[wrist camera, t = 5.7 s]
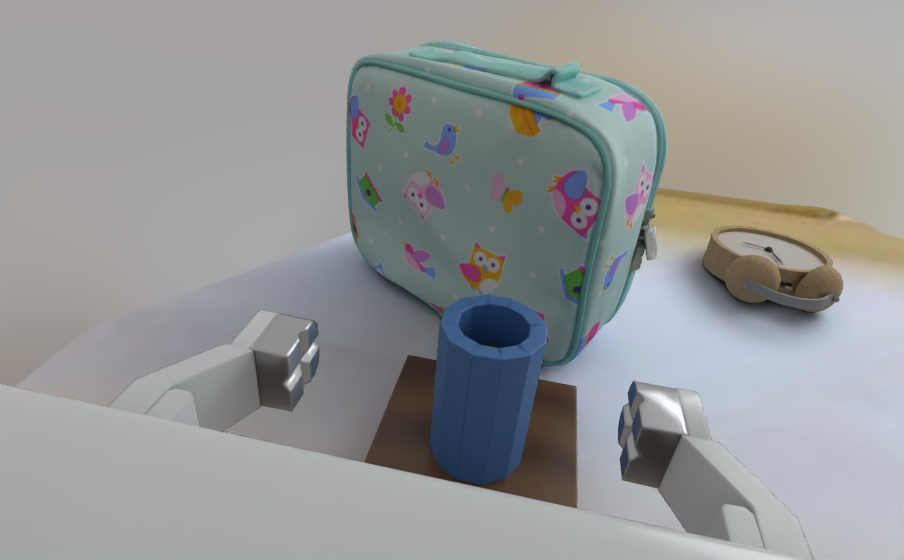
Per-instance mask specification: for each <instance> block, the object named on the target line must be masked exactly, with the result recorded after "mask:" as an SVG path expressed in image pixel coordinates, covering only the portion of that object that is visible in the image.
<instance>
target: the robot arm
mask: <svg viewBox="0 0 904 560" xmlns="http://www.w3.org/2000/svg"><path fill="white" fill-rule="evenodd" d="M317 335H318V324H317V323H316V322H315V321H313V320H309V319H304V318H299V317H294V316H290V315H285V314H279V313H274V312H270V311H265V310H261V311H259V312H257V313H256V314H255V315H254V317H253V318H252V319H251V320H250V321H249V322H248V323H247V325H246V326H245V327H244V328H243V329H242V330H241V331H240V333H239V334H238V335H237V336H236V337H235V338H234V339H233V341H232V342H231V343H230V344H229V345H224V344H223V345H220V346H218V347H215V348H212V349H210V350H207V351H205V352H202V353H200V354H197V355H195V356H192V357H190V358H187V359H185V360H182V361H179V362H177V363H174V364H172V365H169V366H167V367H164V368H162V369H159V370H157V371H154V372H152V373H149V374H146V375H144V376H141V377H139V378H136V379H135V380H134V381H133V382H132V383H131V384H130V385H129V386H128V387H127V388H126V389H125V390H124V391H123V392H122V393H121V394H120V395H119V396H117V397H116V398H115V399H114V400H113V401H112V402H111V403H110V404H109V405H108V406H107V407H106V406H101V405H96V404H92V403H87V402H83V401H78V400H73V399H69V398H64V397H60V396H55V395H50V394H46V393H41V392H36V391H32V390H27V389H23V388H18V387H13V386H9V385H4V384H0V560H814V557H813V555H812V552H811V550H810V547H809V544H808V542H807V539H806V537H805V534H804V532H803V529H802V527H801V524H800V522H799V519H798V517H797V516H796V515H795V514H794V513H793V512H791V511H790V510H789V509H788V508H787V507H786V506H785V505H784V504H783V503H782V502H781V501H780V500H779V499H778V498H777V497H776V496H775V495H774V494H773V493H772V492H771V491H769V490H768V489H767V488H766V487H765V486H764V485H763V484H762V483H761V482H760V481H759V480H758V479H757V478H756V477H755V476H754V475H753V474H752V473H751V472H750V471H749V470H747V469H746V468H745V467H744V466H743V465H742V464H741V463H740V462H739V461H738V460H737V459H736V458H735V457H734V456H733V455H732V454H731V453H730V452H729V451H728V450H727V449H725V448H724V447H723V446H722V445H721V444H720V443H719V442H716V441H713V440H712V437H711V434H710V430H709V427H708V423H707V420H706V417H705V413H704V410H703V406H702V403H701V399H700V396H699V394H698V393H697V392H696V391H690V390H684V389H678V388H675V389H674V388H669V387H663V386H658V385H652V384H647V383H642V382H636V381H633V382H632V384H631V386H630V388H629V391H628V399H629V403H628V404H626V405H625V406H623V409H622V412H621V415H620V420H619V426H618V442H619V445H620V446H621V447H622V448H623V451H622V454H621V457H620V464H621V473H622V480H624V481H628V482H632V483H636V484H641V485H645V486H649V487H653V488H658V491H659V493H660V494H661V495H662V497H663V498H664V500H665V501H666V503H667V504H668V506H669V507H670V508H671V510H672V511H673V513H674V514H675V516H676V517H677V519H678V520H679V522H680V523H681V524H682V526H683V527H684V529H685V530H686V532H683V531H679V530H674V529H669V528H665V527H660V526H656V525H651V524H646V523H642V522H637V521H632V520H627V519H623V518H618V517H613V516H609V515H604V514H599V513H595V512H590V511H586V510H581V509H576V508H572V507H567V506H563V505H558V504H553V503H549V502H544V501H540V500H535V499H530V498H526V497H521V496H517V495H512V494H508V493H503V492H498V491H494V490H489V489H485V488H480V487H475V486H471V485H466V484H461V483H457V482H452V481H447V480H443V479H438V478H433V477H429V476H424V475H419V474H415V473H410V472H405V471H401V470H396V469H392V468H387V467H382V466H378V465H373V464H368V463H364V462H359V461H355V460H350V459H345V458H341V457H336V456H332V455H327V454H322V453H318V452H313V451H308V450H304V449H299V448H295V447H290V446H285V445H281V444H276V443H272V442H267V441H262V440H258V439H253V438H249V437H244V436H239V435H235V434H230V433H225V432H223V431H224V430H226V429H227V428H229V427H231V426H232V425H234V424H235V423H237V422H238V421H240V420H242V419H243V418H245V417H246V416H248V415H249V414H251V413H253V412H254V411H256V410H257V409H259V408H260V407H261V406H266V407H271V408H277V409H283V410H288V411H293V410H294V408H295V406H296V405H297V403H298V401H299V400H300V398H301V397H302V395H303V385H305V384H307V383H309V382H311V380H312V378H313V377H314V375H315V372H316V369H317V366H318V362H319V347H318V345H317V344H316V343H315V341H314V340H315V338H316V337H317Z"/></svg>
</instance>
